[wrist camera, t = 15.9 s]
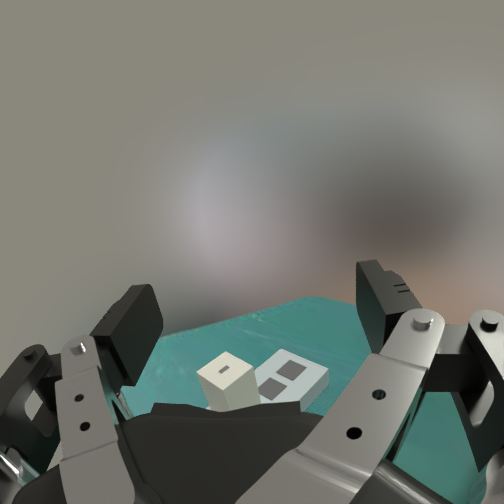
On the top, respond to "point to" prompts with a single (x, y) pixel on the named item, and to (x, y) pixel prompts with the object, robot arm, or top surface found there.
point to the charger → (229, 383)
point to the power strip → (290, 379)
